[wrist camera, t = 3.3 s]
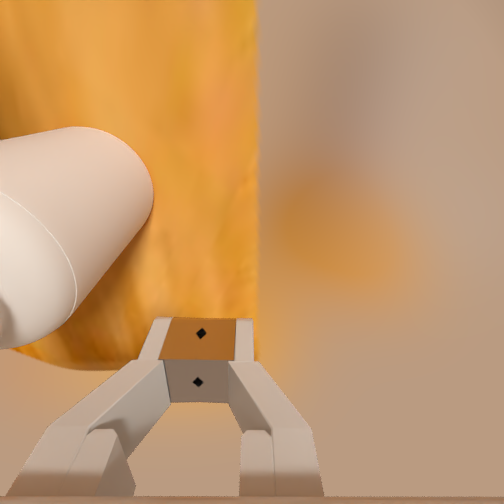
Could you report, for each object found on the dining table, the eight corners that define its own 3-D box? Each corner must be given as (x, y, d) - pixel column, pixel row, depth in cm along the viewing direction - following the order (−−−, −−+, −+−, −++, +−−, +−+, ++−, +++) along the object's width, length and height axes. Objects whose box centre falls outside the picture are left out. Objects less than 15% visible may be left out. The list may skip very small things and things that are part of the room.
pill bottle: (125, 108, 18) (-209, 167, 5) (172, 220, 22) (62, 418, 9) (15, 140, 18) (-519, 262, 6) (80, 242, 23) (-143, 451, 10)
